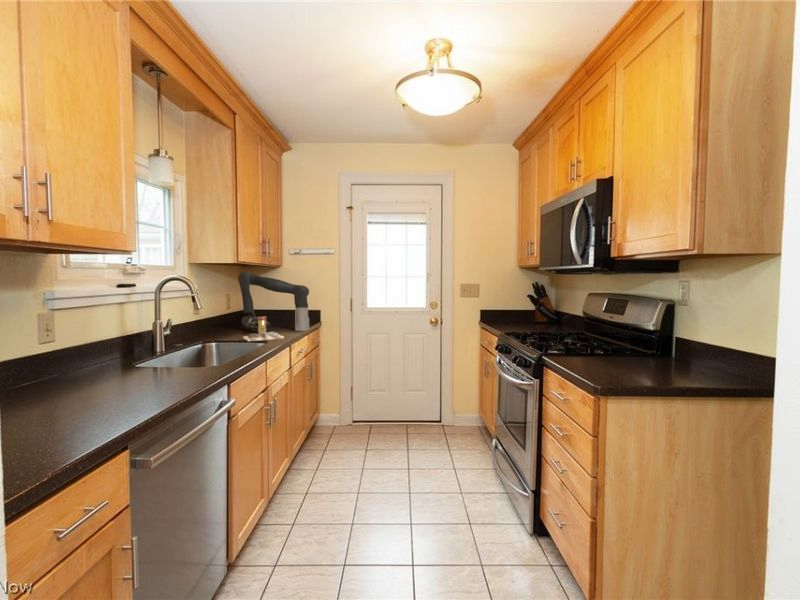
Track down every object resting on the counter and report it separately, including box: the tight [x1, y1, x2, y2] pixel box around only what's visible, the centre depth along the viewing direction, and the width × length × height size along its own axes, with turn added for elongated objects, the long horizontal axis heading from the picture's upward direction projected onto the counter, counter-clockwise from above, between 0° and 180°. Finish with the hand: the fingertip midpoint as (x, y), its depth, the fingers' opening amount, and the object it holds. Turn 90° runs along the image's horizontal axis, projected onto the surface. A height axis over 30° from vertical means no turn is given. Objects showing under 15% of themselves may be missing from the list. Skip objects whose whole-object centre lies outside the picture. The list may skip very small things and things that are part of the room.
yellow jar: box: [256, 316, 268, 335], centre depth 267 cm, size 6×6×12 cm
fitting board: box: [242, 331, 285, 342], centre depth 254 cm, size 22×13×3 cm, turn 124°
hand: (261, 325), depth 268 cm, fingers open, 8 cm apart
